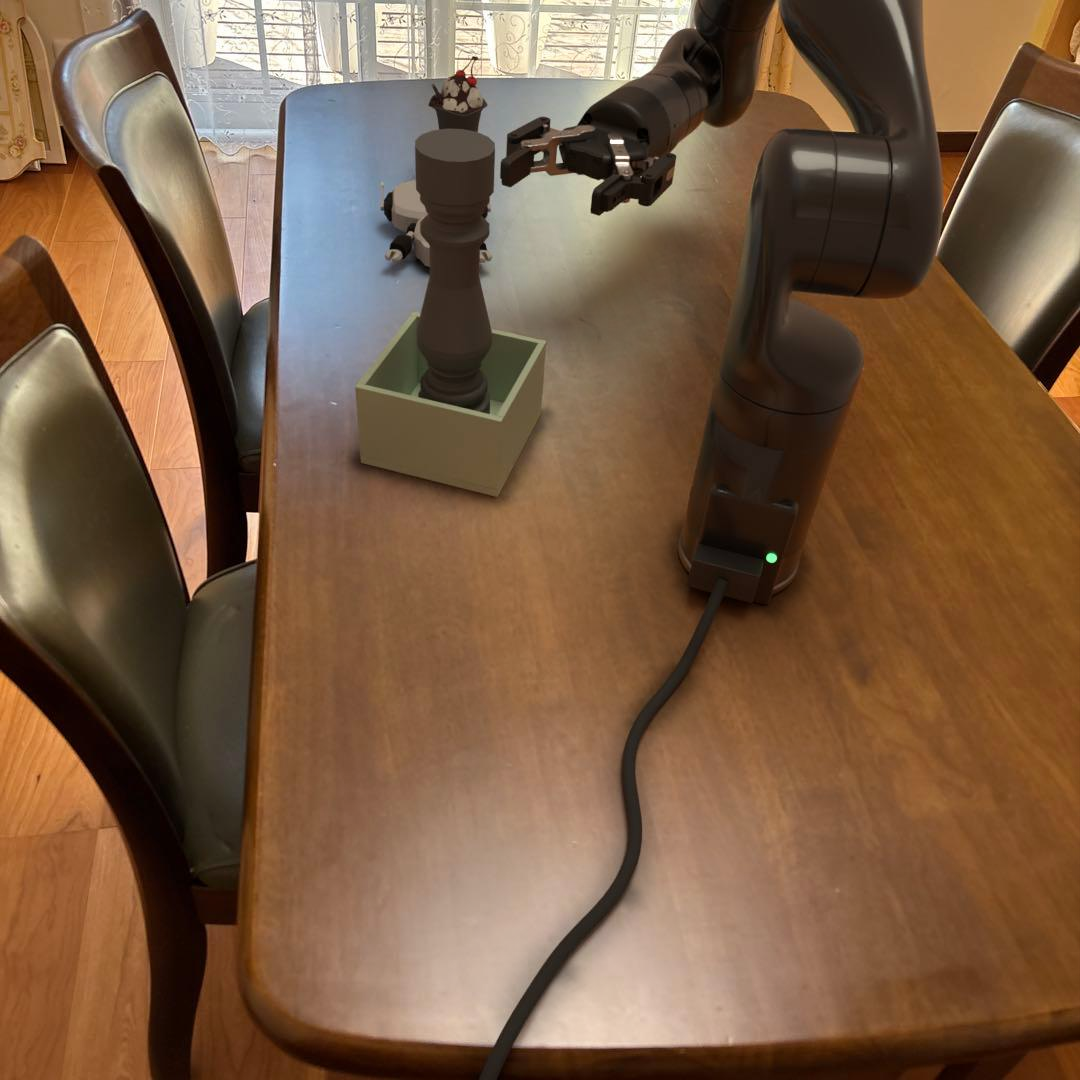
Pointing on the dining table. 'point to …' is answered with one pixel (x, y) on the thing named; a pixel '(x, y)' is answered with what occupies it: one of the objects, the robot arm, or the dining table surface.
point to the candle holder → (454, 264)
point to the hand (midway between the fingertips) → (549, 189)
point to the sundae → (458, 102)
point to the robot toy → (412, 223)
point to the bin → (450, 414)
